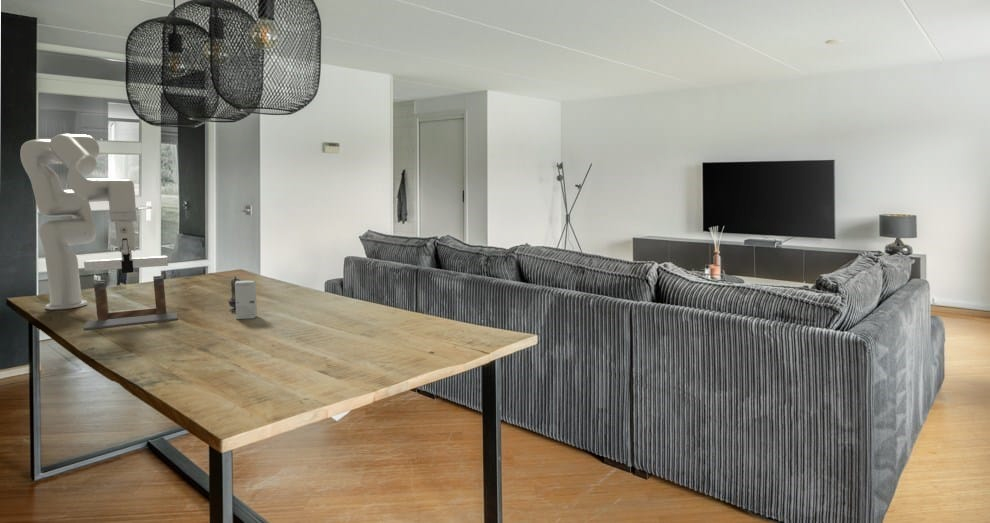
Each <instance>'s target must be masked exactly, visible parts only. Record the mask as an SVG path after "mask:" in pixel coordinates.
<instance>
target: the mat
mask: <svg viewBox="0 0 990 523" xmlns="http://www.w3.org/2000/svg"><path fill="white" fill-rule="evenodd" d="M178 319H179V317H178V312H166V313H165V314H151V315H141V316H132V317H122V318H112V319H108V320H98V319H97V320H91V321H90V320H89V321H85V323H84V325H83V328H82V330H83V331H86V330H87V331H88V330H97V329H107V328H113V327H126V326H133V325H141V324H142V325H143V324H151V323H152V324H153V323H161V322H171V321H178Z"/></svg>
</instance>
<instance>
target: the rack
mask: <svg viewBox="0 0 990 523" xmlns="http://www.w3.org/2000/svg"><path fill="white" fill-rule="evenodd" d="M93 289H94V296H95V297H94V298H95V306H96V316H97V321H98V320H108V319H117V318H127V317H137V316H146V315H156V314H165V313H167V305H166V294H165V293H166V292H165V291H166V290H165V279H164V275H154V276H153V289H154V300H155V301H154V302H155V306H154V307H144V308H136V309H135V308H133V309H125V310H124V309H123V310H122V309H121V310H114V311H109V301H108V292H107V291H108V290H107V280H106V279H103V280H95V281H94V283H93Z"/></svg>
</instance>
